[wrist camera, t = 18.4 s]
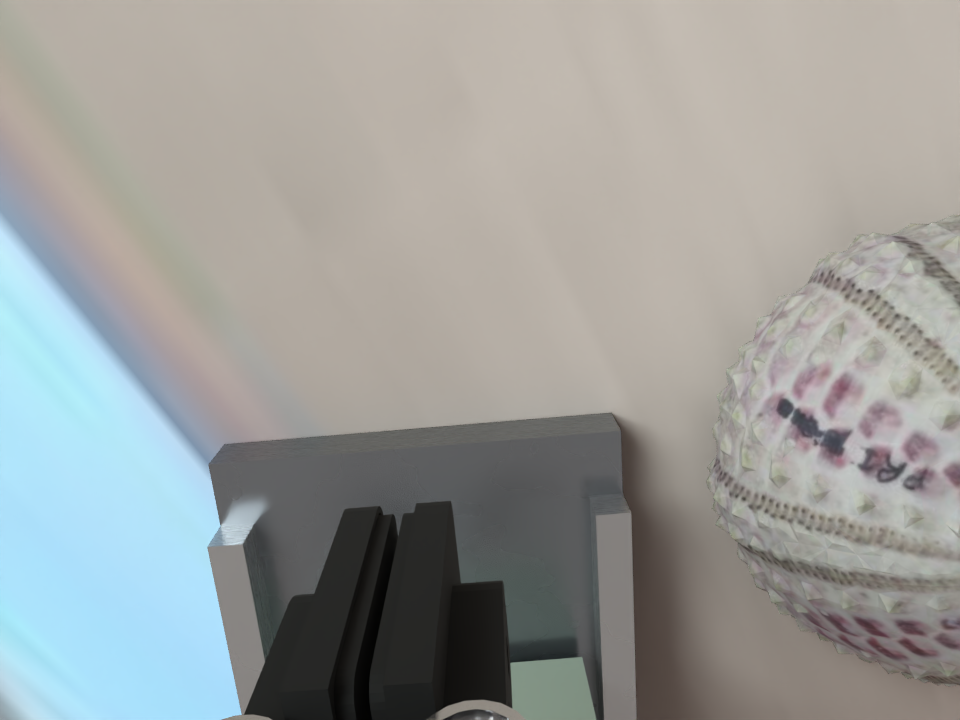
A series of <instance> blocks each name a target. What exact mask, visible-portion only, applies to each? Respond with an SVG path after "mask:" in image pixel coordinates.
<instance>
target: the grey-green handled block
mask: <svg viewBox="0 0 960 720" xmlns="http://www.w3.org/2000/svg"><path fill="white" fill-rule="evenodd" d="M510 666H511V685H512V709H514V710H516V711H517V712H518V713H520V714H521V715H522V716H523V717H524V718H525V719H526V720H596V716H595V711H594V707H593V703H592V698H591V694H590V689H589V685H588V681H587V676H586V672H585V667H584V663H583V658H582V657H576V658H563V659H551V660H538V661H526V662H514V663H510Z"/></svg>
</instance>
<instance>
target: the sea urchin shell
mask: <svg viewBox="0 0 960 720" xmlns="http://www.w3.org/2000/svg"><path fill="white" fill-rule="evenodd" d="M726 374H727V380H728V386H727V387H726V388H725V389H724V390H723V391H722V392H720V393H719V394H718V395H717V398H718V401H719V405H720V415H719V417H718V418H719V420H718V421H717V423H716V424H715V426H714V427H713V436H714V438H715V440H716V442H717V455H716V458H715V459H714V460H713V461H712V462H711V464H710V465H709V466H708V467H707V468H708V470H709V471H710V475H709V477H708V479H707V481H706V482H707V485H708V488H709V489H710V491H711V492H712V493H713V494H714V498H713V499H714V500H715V502H714V505H713V507H712V509H713V510H714V511H715V512H717V513H718V514H719V515H720V517H719V519H718V521H717V523H716V524H715V525H717V526H719V527H720V528H722V529H723V530H725V531H726V532H728V533H730V535H731V536H732V538H733V539H734V540H735V541H737V542H738V552H737V554H738V557H739V558H740V559H741V560H743V561H744V562H745V563H746V564H748V567H749V572H750V573H751V575H753V578H754V582H755V585H756V587H758V588H760V589H763V590H765V591H768V593H769V596H770V599H771V602H772V603H775V604H777V607H778V610H779V613H780V614H784V615H791V616H792V617H795V619H796V622H797V624H798V627H799V630H800V631H808V632H817V634H818V636H819V639H820V640H824V641H833V643H834V645H835V648H836V650H837V652H838V654H856V655H857V656H858V657H859V658H860V659H862V660H864V661H867V662H869V663H872V662H877V661H878V662H879V664H880V665H881V666H882V667H883V668H884V669H885V670H886V671H887V672H888V673H898V672H901V673H902V674H903V675H904V676H905V677H906V678H907V679H909V678H914V679H919V680H920V681H922V682H923V683H926V682H929V681H930V682H932V683H934V684H936V685H941V684H942V685H946V686H954V685H960V215H952V216H950V217H948V218H945V219H943V220H941V221H939V222H936V223H934V222H932V223H930V224H910V225H908V226H907V227H905V228H904V229H902V230H901V231H900V232H898V233H895V234H892V235H884V234H878V233H872V234H871V235H870V236H869V235H858V236H857V237H856V238H855V240H854V241H853V243H852V244H851V245H850V247H849V248H848V250H846V251H844V252H843V253H828V255H827V257H826V259H820V260H819V262H818V264H817V266H816V268H815V270H814V272H813V274H812V276H811V278H810V280H809V282H808V284H807V285H805V286H804V287H803V288H801V289H800V290H799V291H797V292H796V293H793V294H789V295H784V296H780V297H778V300H777V302H776V305H775V307H774V309H773V312H772V314H770V315H767V316H764V317H760V318H758V323H757V327H756V332H755V337H754V340H753V341H751V342H749V343H747V344H745V345H744V346H742V347H740V348H739V361H738V362H737V363H736V364H734V365H733V366H731V367H730V368H728V369H727V370H726Z"/></svg>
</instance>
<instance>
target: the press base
mask: <svg viewBox="0 0 960 720" xmlns="http://www.w3.org/2000/svg"><path fill="white" fill-rule="evenodd" d="M209 469H210V474H211V479H212V485H213V490H214V495H215V500H216V505H217V510H218V515H219V520H220V525H221V526H220V528H219V530H218V531H217V533H216V534H215V536H214V538H213V539H212V541H211V542H210V544H209V545H208V552H209V557H210V562H211V567H212V572H213V577H214V581H215V586H216V591H217V596H218V601H219V606H220V611H221V616H222V620H223V625H224V630H225V635H226V640H227V645H228V650H229V655H230V659H231V664H232V669H233V674H234V679H235V684H236V689H237V694H238V698H239V703H240V708H241V713H242V715H244V713H245V711H246V708H247V706H248V703H249V701H250V698H251V696H252V693H253V691H254V688H255V686H256V683H257V681H258V678H259V676H260V673H261V671H262V668H263V666H264V663H265V661H266V658H267V656H268V653H269V651H270V648H271V646H272V643H273V641H274V639H275V636H276V634H277V631H278V629H279V626H280V624H281V621H282V619H283V616H284V614H285V611H286V609H287V606H288V604H289V602H290V600H291V598H292V597H293V596H295V595H302V594H314V593H315V590H316V587H317V584H318V582H319V579H320V576H321V573H322V570H323V568H324V565H325V562H326V559H327V557H328V554H329V551H330V548H331V545H332V543H333V540H334V537H335V534H336V531H337V529H338V526H339V523H340V520H341V517H342V515H343V512H344V510H345V509H347V508H360V507H373V506H380V507H381V508H382V511H383V515H388V514H394V516H395V519H396V525H397V532H398V536H399V531H400V526H401V521H402V517H403V514H404V513H414V511H415V506H416V503H427V502H440V501H451V503H452V509H453V517H454V526H455V534H456V543H457V552H458V561H459V570H460V579H461V583H473V582H487V581H501V580H503V584H504V593H505V603H506V614H507V625H508V637H509V650H510V663H514V662H526V661H538V660H551V659H563V658H576V657H582V658H583V663H584V667H585V672H586V676H587V681H588V685H589V689H590V694H591V698H592V703H593V707H594V711H595V716H596V720H637V716H636V677H635V638H634V598H633V559H632V520H631V511H630V509H629V506H628V504H627V502H626V500H625V497H624V495H623V486H622V451H621V430H620V428H619V426H618V424H617V423H616V421H615V419H614V417H613V415H612V413H603V414H590V415H578V416H566V417H554V418H542V419H529V420H517V421H505V422H493V423H480V424H468V425H456V426H444V427H431V428H419V429H407V430H395V431H382V432H370V433H358V434H346V435H334V436H321V437H309V438H297V439H285V440H272V441H260V442H248V443H236V444H224V446H223V447H222V448H221V449H220V451H219V452H218V453H217V454H216V456H215V457H214V458H213V459H212V461H211V462H210V463H209Z"/></svg>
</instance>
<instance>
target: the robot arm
mask: <svg viewBox="0 0 960 720" xmlns="http://www.w3.org/2000/svg"><path fill="white" fill-rule="evenodd" d="M222 720H526V719H525V718H524V717H523V716H522V715H521V714H520V713H518V712H517V711H516V710H514V709H512V685H511V666H510V650H509V637H508V625H507V614H506V603H505V593H504V584H503V580H501V581H487V582H473V583H461V579H460V570H459V561H458V552H457V543H456V534H455V526H454V517H453V509H452V503H451V501H440V502H427V503H416V506H415V511H414V513H404V514H403V517H402V521H401V526H400V531H399V536H398V532H397V525H396V519H395V516H394V514H388V515H383V511H382V508H381V507H380V506H373V507H360V508H347V509H345V510H344V512H343V515H342V517H341V520H340V523H339V526H338V529H337V531H336V534H335V537H334V540H333V543H332V545H331V548H330V551H329V554H328V557H327V559H326V562H325V565H324V568H323V570H322V573H321V576H320V579H319V582H318V584H317V587H316V590H315V593H314V594H302V595H295V596H293V597H292V598H291V600H290V602H289V604H288V606H287V609H286V611H285V614H284V616H283V619H282V621H281V624H280V626H279V629H278V631H277V634H276V636H275V639H274V641H273V643H272V646H271V648H270V651H269V653H268V656H267V658H266V661H265V663H264V666H263V668H262V671H261V673H260V676H259V678H258V681H257V683H256V686H255V688H254V691H253V693H252V696H251V698H250V701H249V703H248V706H247V708H246V711H245V713H244V715H238V716H232V717H229V718H225V719H222Z"/></svg>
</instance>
